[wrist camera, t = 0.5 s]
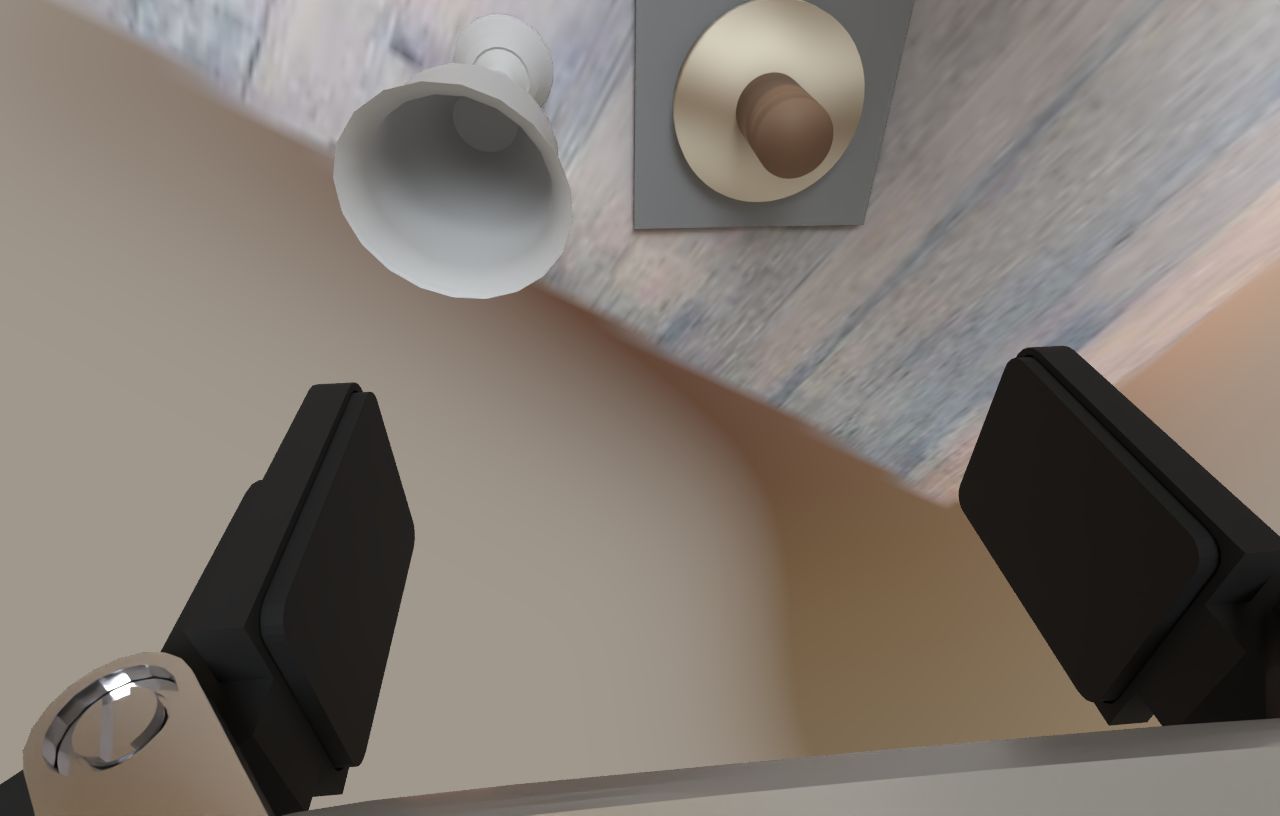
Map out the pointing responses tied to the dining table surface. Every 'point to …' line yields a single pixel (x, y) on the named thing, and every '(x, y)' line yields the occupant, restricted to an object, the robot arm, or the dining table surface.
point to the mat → (663, 180)
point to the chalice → (461, 168)
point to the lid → (768, 99)
